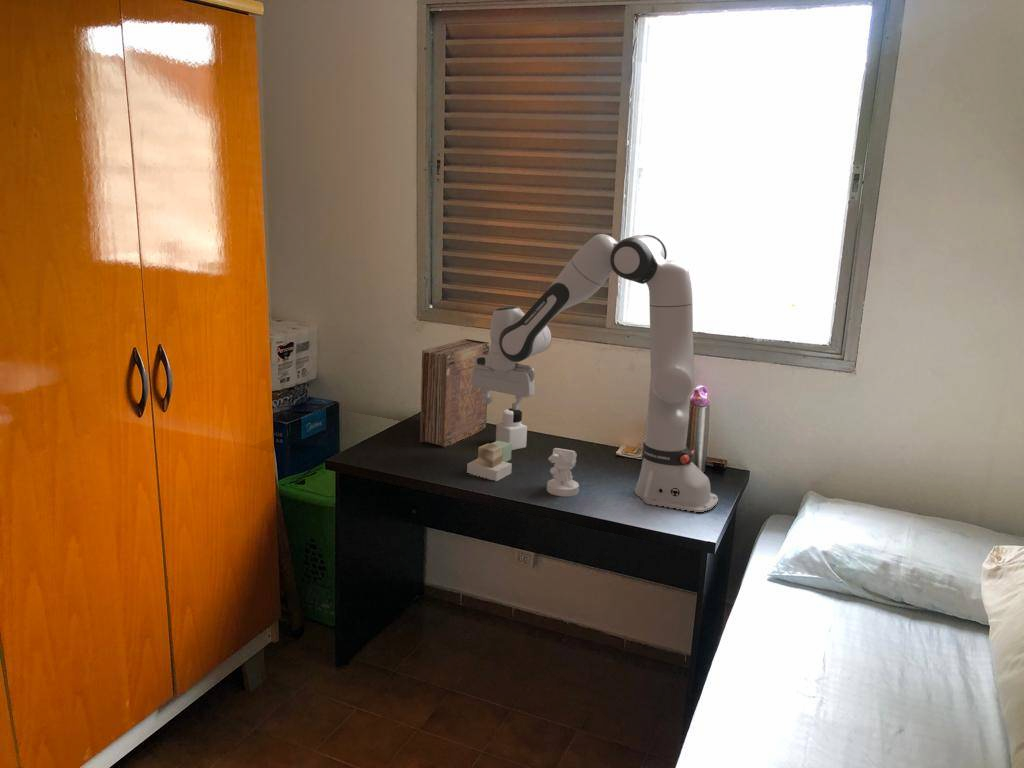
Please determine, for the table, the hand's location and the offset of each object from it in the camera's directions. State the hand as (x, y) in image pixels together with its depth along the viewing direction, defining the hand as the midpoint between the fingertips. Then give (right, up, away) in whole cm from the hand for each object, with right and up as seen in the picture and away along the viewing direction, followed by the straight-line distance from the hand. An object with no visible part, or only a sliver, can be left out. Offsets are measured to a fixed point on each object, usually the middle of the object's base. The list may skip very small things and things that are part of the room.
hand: (501, 406), depth 242 cm
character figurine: (+17, -23, -18) cm, 33 cm away
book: (-16, -11, +24) cm, 31 cm away
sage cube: (-1, -16, +4) cm, 17 cm away
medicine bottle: (+3, -13, +17) cm, 22 cm away
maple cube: (-3, -16, -9) cm, 19 cm away
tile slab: (-3, -19, -8) cm, 21 cm away
